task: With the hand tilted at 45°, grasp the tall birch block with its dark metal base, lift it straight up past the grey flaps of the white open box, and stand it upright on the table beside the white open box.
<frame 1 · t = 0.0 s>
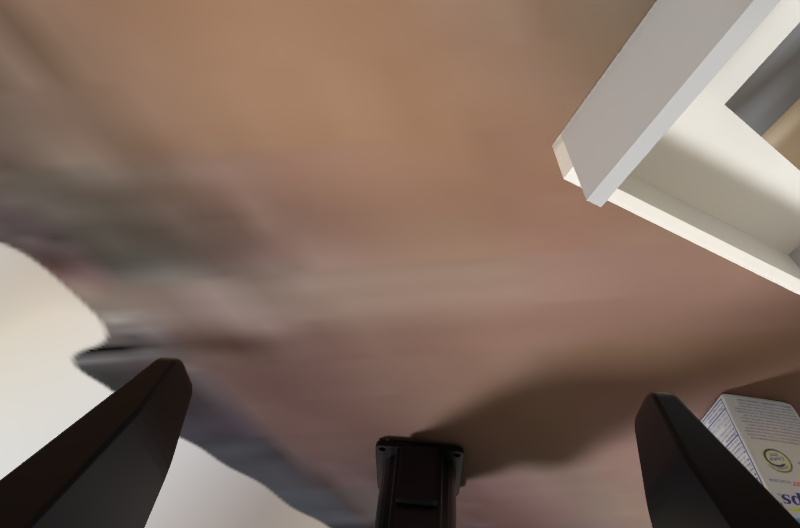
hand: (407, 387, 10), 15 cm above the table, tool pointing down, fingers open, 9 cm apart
medicine box: (721, 429, 33), on the table
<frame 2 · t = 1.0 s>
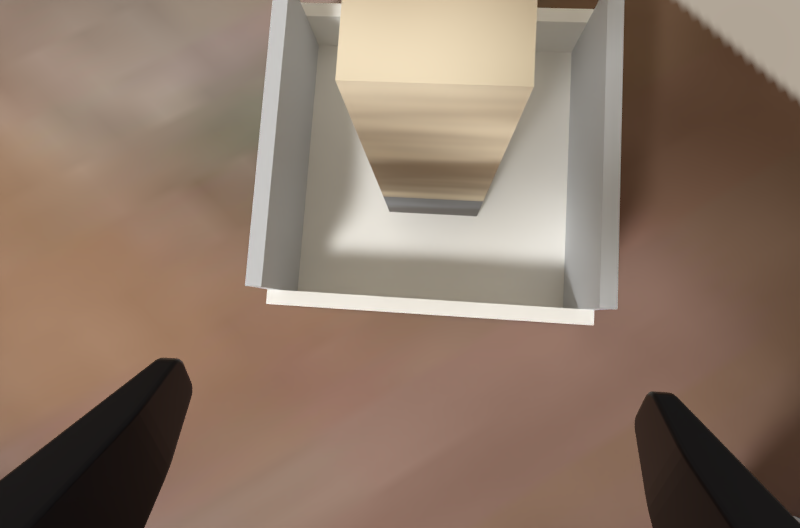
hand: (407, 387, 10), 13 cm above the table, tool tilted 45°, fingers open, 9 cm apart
white open box: (435, 175, 24), on the table
birch block: (435, 171, 23), point 1 cm above the table, touching white open box
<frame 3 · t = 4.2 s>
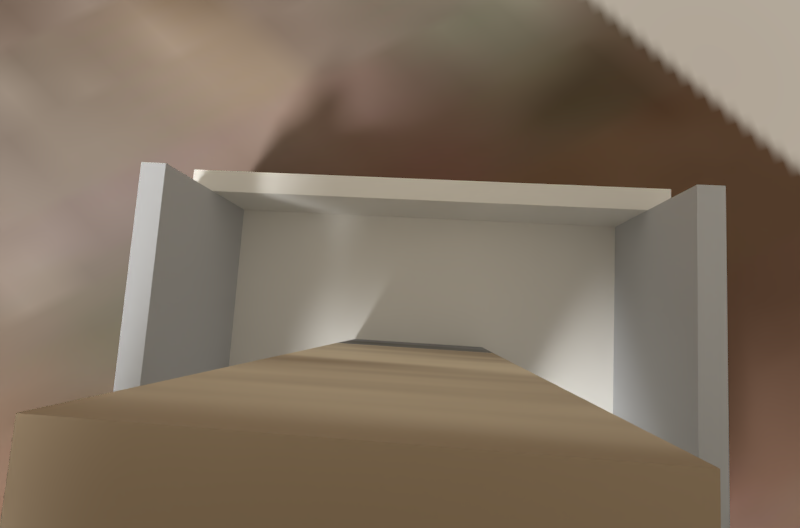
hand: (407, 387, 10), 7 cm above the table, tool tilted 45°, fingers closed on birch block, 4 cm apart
white open box: (414, 404, 16), on the table
birch block: (414, 408, 15), point 1 cm above the table, touching white open box, gripper
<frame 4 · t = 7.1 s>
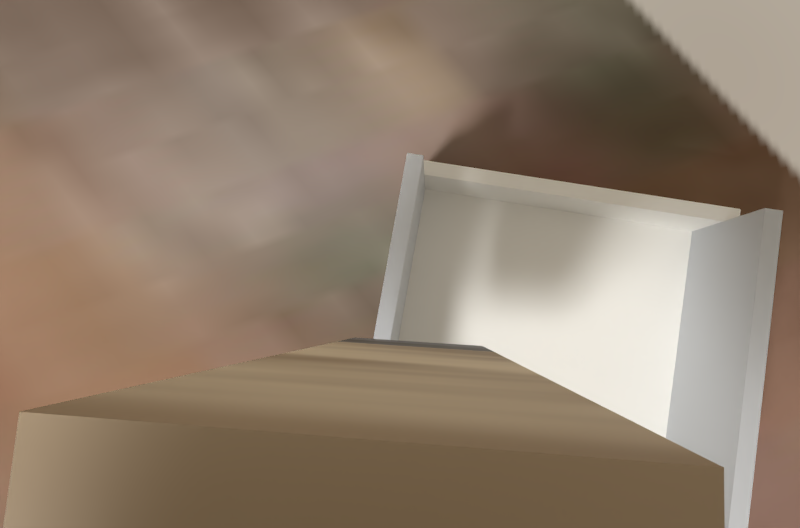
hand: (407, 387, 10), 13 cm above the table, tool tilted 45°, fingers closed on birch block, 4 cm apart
white open box: (532, 340, 23), on the table
birch block: (414, 406, 15), point 7 cm above the table, touching gripper
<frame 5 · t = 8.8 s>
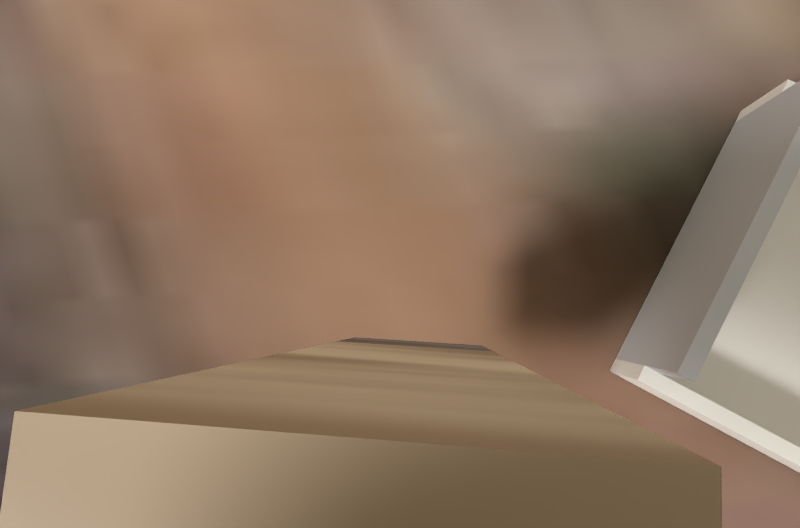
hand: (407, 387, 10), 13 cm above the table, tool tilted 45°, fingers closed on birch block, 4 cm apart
birch block: (414, 406, 15), point 7 cm above the table, touching gripper
when the fingers open (7 cm above the table, at t = 10.2 s): birch block drops 1 cm, on the table.
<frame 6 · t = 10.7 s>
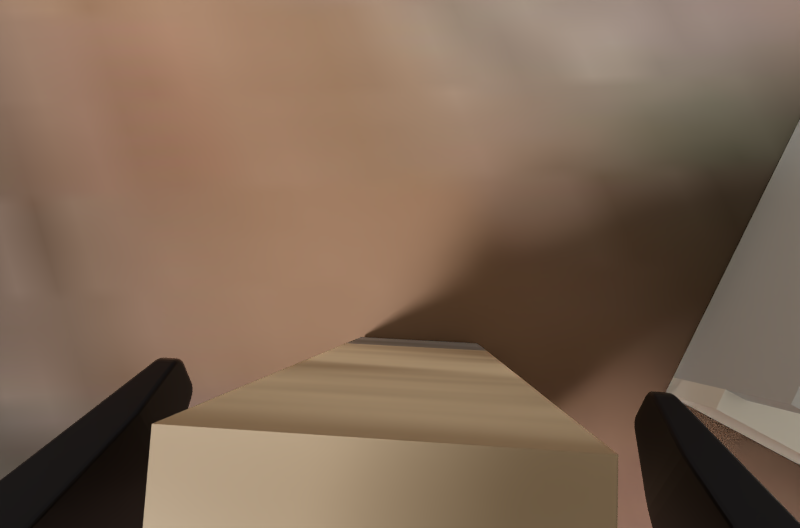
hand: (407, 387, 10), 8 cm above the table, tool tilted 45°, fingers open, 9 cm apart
birch block: (416, 399, 17), on the table
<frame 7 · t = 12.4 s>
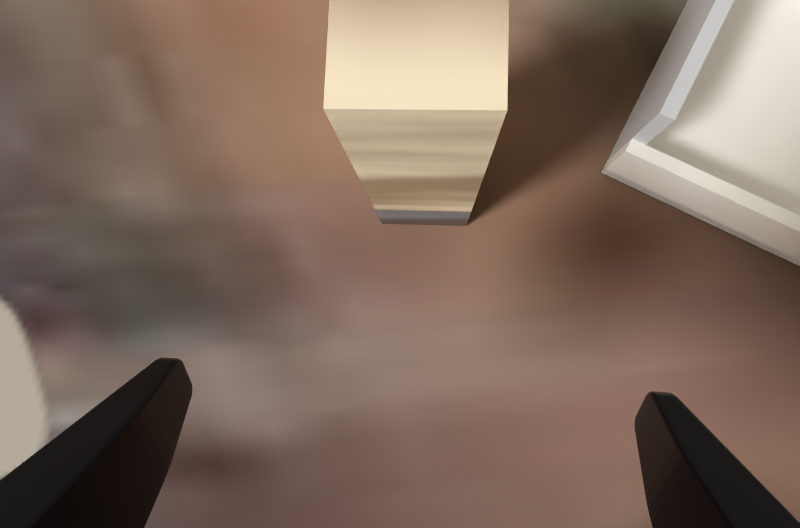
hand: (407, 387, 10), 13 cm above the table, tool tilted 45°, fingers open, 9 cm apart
white open box: (794, 111, 23), on the table
birch block: (425, 183, 24), on the table
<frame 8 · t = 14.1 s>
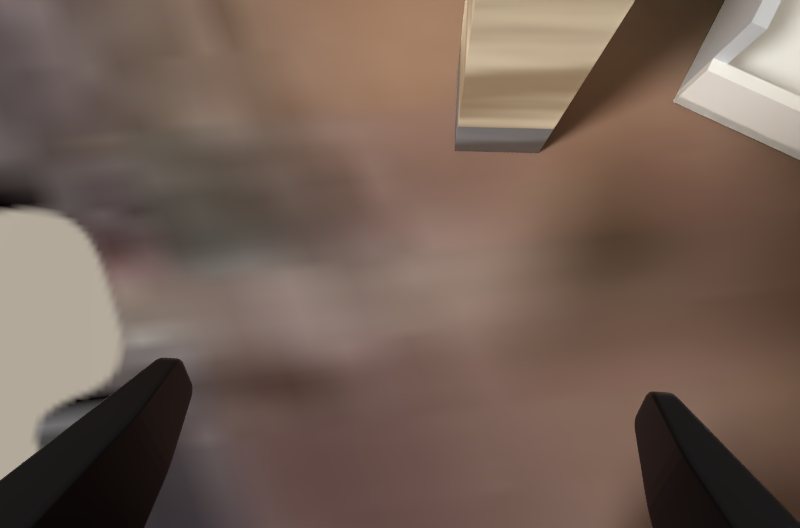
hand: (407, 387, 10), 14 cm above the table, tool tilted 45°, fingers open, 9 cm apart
birch block: (497, 112, 24), on the table
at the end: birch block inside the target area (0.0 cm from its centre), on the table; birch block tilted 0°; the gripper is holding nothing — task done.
